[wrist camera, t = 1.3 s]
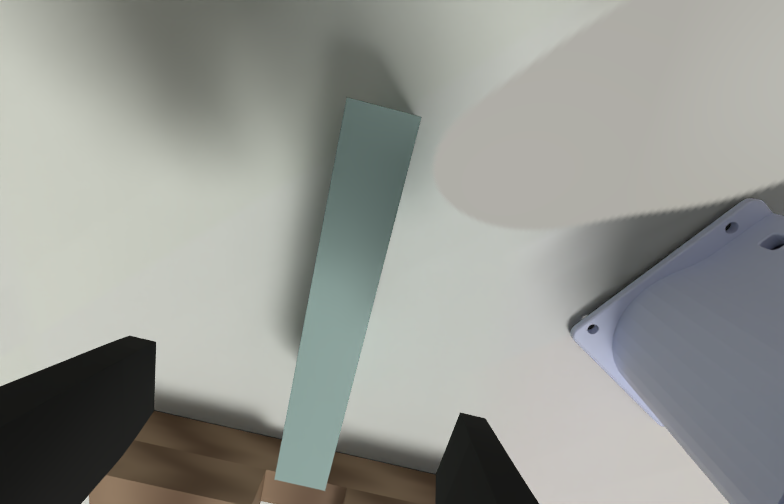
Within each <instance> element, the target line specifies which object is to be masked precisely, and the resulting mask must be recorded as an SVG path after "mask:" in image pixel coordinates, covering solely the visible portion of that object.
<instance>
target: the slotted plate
mask: <svg viewBox="0 0 784 504" xmlns="http://www.w3.org/2000/svg"><path fill="white" fill-rule="evenodd" d="M420 121H421V117H420V116H416V115H412V114H409V113H405V112H401V111H397V110H393V109H390V108H386V107H382V106H378V105H374V104H371V103H367V102H363V101H359V100H356V99H352V98H348V97H347V99H346V104H345V110H344V115H343V120H342V125H341V131H340V136H339V141H338V146H337V152H336V157H335V162H334V168H333V173H332V178H331V183H330V189H329V194H328V199H327V205H326V210H325V215H324V220H323V226H322V231H321V236H320V241H319V247H318V252H317V257H316V263H315V268H314V273H313V278H312V284H311V289H310V294H309V299H308V305H307V310H306V315H305V321H304V326H303V331H302V336H301V342H300V347H299V352H298V357H297V363H296V368H295V373H294V379H293V384H292V389H291V394H290V400H289V405H288V410H287V415H286V421H285V426H284V431H283V437H282V442H281V447H280V452H279V458H278V463H277V468H276V474H275V479H274V480H279V481H283V482H288V483H292V484H297V485H301V486H306V487H310V488H315V489H319V490H324V491H325V489H326V485H327V481H328V477H329V473H330V470H331V466H332V462H333V458H334V454H335V450H336V446H337V442H338V439H339V435H340V431H341V427H342V423H343V419H344V415H345V411H346V408H347V404H348V400H349V396H350V392H351V388H352V384H353V380H354V377H355V373H356V369H357V365H358V361H359V357H360V353H361V349H362V346H363V342H364V338H365V334H366V330H367V326H368V322H369V318H370V315H371V311H372V307H373V303H374V299H375V295H376V291H377V287H378V284H379V280H380V276H381V272H382V268H383V264H384V260H385V256H386V253H387V249H388V245H389V241H390V237H391V233H392V229H393V225H394V222H395V218H396V214H397V210H398V206H399V202H400V198H401V194H402V191H403V187H404V183H405V179H406V175H407V171H408V167H409V163H410V160H411V156H412V152H413V148H414V144H415V140H416V136H417V132H418V129H419V125H420Z"/></svg>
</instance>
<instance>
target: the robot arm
mask: <svg viewBox="0 0 784 504" xmlns="http://www.w3.org/2000/svg"><path fill="white" fill-rule="evenodd" d="M729 223H731V226H730V228H729V229H728V230H726V231H725V228H726V226H727V225H728V224H729ZM592 324H595V326H594V327H593V328H592V329H590V330H587V329H588V327H589V326H590V325H592ZM571 336H572V338H573V339H574V341H575V342H576V343H577V344H578V345H579V346H580V347H581V348H582V349H583V350H584V351H585V352H586V353H587V354H588V355H589V356H590V357H591V358H592V359H593V360H594V361H595V362H596V363H597V364H598V365H599V366H600V367H601V368H602V369H603V370H604V371H605V372H606V373H607V374H608V375H609V376H610V377H611V378H612V379H613V380H614V381H615V382H616V383H617V384H618V385H619V386H620V387H621V388H622V389H623V390H624V391H625V392H626V393H627V394H628V395H629V396H630V397H631V398H632V399H633V400H634V401H635V402H636V403H637V404H638V405H639V406H640V407H641V408H642V409H643V410H644V411H646V412H647V413H648V414H649V415H650V416H651V417H652V418H653V419H654V420H655V421H656V422H657V423H658V424H659V425H660V426H663V427H665V428H666V429H667V430H668V431H669V432H670V433H671V435H672V436H673V437H674V438H675V439H676V441H677V442H678V443H679V444H680V445H681V446H682V448H683V449H684V450H685V451H686V452H687V454H688V455H689V456H690V457H691V458H692V459H693V461H694V462H695V463H696V464H697V465H698V467H699V468H700V469H701V470H702V471H703V473H704V474H705V475H706V476H707V477H708V478H709V480H710V481H711V482H712V483H713V484H714V486H715V487H716V488H717V489H718V490H719V491H720V493H721V494H722V495H723V496H724V497H725V499H726V500H727V501H728V502H729V503H730V504H784V216H783V215H779V214H775V213H772V211H771V210H770V209H769V207H768V206H767V205H766V203H765V202H764V201H762V200H759V199H754V198H747V199H745V200H743V201H741V202H740V203H738V204H737V205H735V206H734V207H733V208H731V209H730V210H729V211H727V212H726V213H725V214H723V215H722V216H721V217H719V218H718V219H717V220H715V221H714V222H713V223H711V224H710V225H709V226H707V227H706V228H705V229H703V230H702V231H701V232H699V233H698V234H697V235H695V236H694V237H693V238H691V239H690V240H689V241H687V242H686V243H684V244H683V245H682V246H680V247H679V248H678V249H676V250H675V251H674V252H672V253H671V254H670V255H668V256H667V257H666V258H664V259H663V260H662V261H660V262H659V263H658V264H656V265H655V266H654V267H652V268H651V269H650V270H648V271H647V272H646V273H644V274H643V275H642V276H640V277H639V278H638V279H636V280H635V281H633V282H632V283H631V284H629V285H628V286H627V287H625V288H624V289H623V290H621V291H620V292H619V293H617V294H616V295H615V296H613V297H612V298H611V299H609V300H608V301H607V302H605V303H604V304H603V305H601V306H600V307H599V308H597V309H596V310H595V311H593V312H592V313H591V314H589V315H588V316H587V317H585V318H584V319H582V320H581V321H580V322H578V323H577V324H576V325H574V327H573V328H572V329H571ZM155 361H156V342H154V341H150V340H146V339H141V338H137V337H133V336H128V337H125V338H122V339H119V340H116V341H114V342H111V343H108V344H106V345H103V346H101V347H98V348H96V349H93V350H91V351H88V352H86V353H83V354H81V355H78V356H76V357H73V358H71V359H68V360H66V361H63V362H61V363H58V364H56V365H53V366H51V367H48V368H46V369H43V370H41V371H38V372H36V373H33V374H31V375H28V376H26V377H23V378H20V379H18V380H15V381H13V382H10V383H8V384H5V385H3V386H0V504H81V503H82V502H83V501H84V500H85V499H86V498H87V496H88V495H89V494H90V493H91V492H92V491H93V490H94V488H95V487H96V486H97V485H98V484H99V483H100V481H101V480H102V479H103V478H104V477H105V476H106V475H107V473H108V472H109V471H110V470H111V469H112V468H113V466H114V465H115V464H116V463H117V462H118V461H119V459H120V458H121V457H122V456H123V455H124V453H125V452H126V450H127V449H128V448H129V446H130V445H131V444H132V442H133V441H134V439H135V438H136V437H137V435H138V434H139V432H140V431H141V429H142V428H143V426H144V425H145V424H146V422H147V421H148V419H149V418H150V416H151V415H152V413H153V412H154V391H155ZM435 504H539V503H538V501H537V500H536V498H535V497H534V495H533V494H532V492H531V491H530V489H529V488H528V486H527V484H526V483H525V481H524V480H523V478H522V477H521V475H520V473H519V472H518V470H517V469H516V467H515V465H514V464H513V462H512V461H511V459H510V457H509V456H508V454H507V453H506V451H505V449H504V448H503V446H502V445H501V443H500V441H499V440H498V438H497V436H496V435H495V433H494V432H493V430H492V428H491V427H490V425H489V424H488V422H487V421H486V419H485V418H481V417H477V416H472V415H468V414H464V413H460V415H459V417H458V420H457V422H456V425H455V427H454V430H453V432H452V435H451V437H450V440H449V443H448V445H447V448H446V450H445V453H444V455H443V458H442V460H441V463H440V465H439V468H438V470H437V473H436V495H435Z"/></svg>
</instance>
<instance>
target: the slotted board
mask: <svg viewBox="0 0 784 504" xmlns="http://www.w3.org/2000/svg"><path fill="white" fill-rule="evenodd" d="M281 442H282V440H281V439H276V438H272V437H268V436H263V435H259V434H254V433H250V432H246V431H241V430H237V429H232V428H228V427H224V426H219V425H215V424H210V423H206V422H202V421H197V420H193V419H188V418H184V417H180V416H175V415H171V414H166V413H162V412H158V411H154V412H153V413H152V415H151V416H150V418H149V419H148V421H147V422H146V424H145V425H144V426H143V428H142V429H141V431H140V432H139V434H138V435H137V437H136V438H135V439H134V441H133V442H132V444H131V445H130V446H129V448H128V449H127V450H126V452H125V453H124V455H123V456H122V457H121V458H120V459H119V461H118V462H117V463H116V464H115V465H114V466H113V468H112V469H111V470H110V471H109V472H108V473H107V475H106V476H105V477H104V478H103V479H102V480H101V481H100V483H99V484H98V485H97V486H96V487H95V488H94V490H93V491H92V492H91V493H90V494H89V504H260V502H261V501H264V502H268V503H273V504H435V495H436V475H435V474H431V473H426V472H422V471H417V470H413V469H409V468H404V467H400V466H395V465H391V464H387V463H382V462H378V461H373V460H369V459H365V458H360V457H356V456H351V455H347V454H343V453H338V452H335V454H334V458H333V462H332V466H331V470H330V473H329V477H328V481H327V485H326V489H325V491H324V490H319V489H315V488H310V487H306V486H301V485H297V484H292V483H288V482H283V481H279V480H274V479H275V474H276V468H277V463H278V458H279V452H280V447H281Z"/></svg>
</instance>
